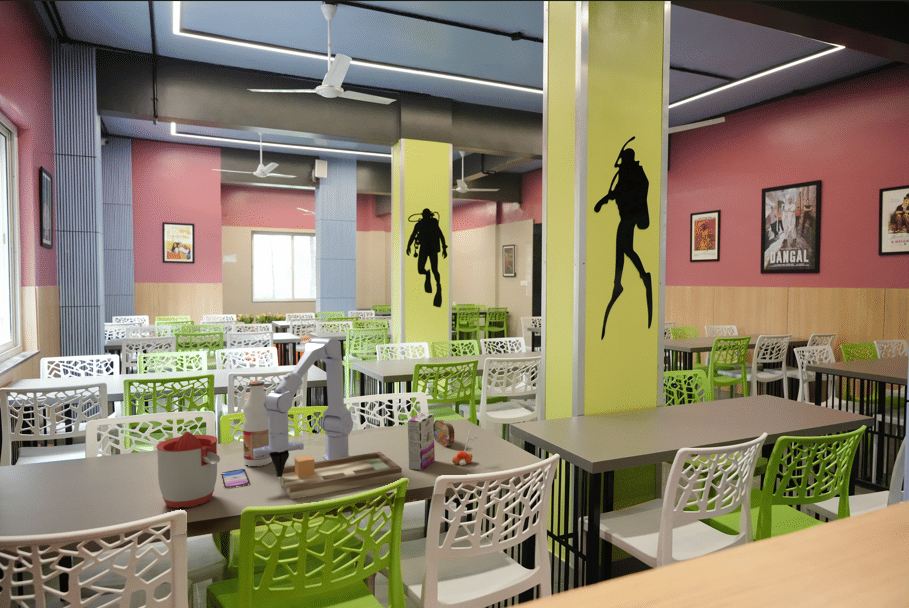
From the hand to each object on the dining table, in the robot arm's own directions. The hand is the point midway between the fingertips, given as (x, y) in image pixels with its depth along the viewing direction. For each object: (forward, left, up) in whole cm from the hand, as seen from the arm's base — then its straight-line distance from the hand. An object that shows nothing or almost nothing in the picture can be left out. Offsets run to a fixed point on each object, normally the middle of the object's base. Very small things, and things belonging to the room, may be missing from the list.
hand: (279, 475), depth 169 cm
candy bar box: (+4, +46, -3) cm, 46 cm away
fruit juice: (-25, -2, -3) cm, 25 cm away
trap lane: (+4, +18, -3) cm, 18 cm away
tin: (-14, +64, -3) cm, 65 cm away
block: (0, +8, -1) cm, 8 cm away
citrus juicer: (+1, -24, -3) cm, 25 cm away
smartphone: (-12, -11, -3) cm, 17 cm away
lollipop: (+10, +60, -3) cm, 61 cm away
